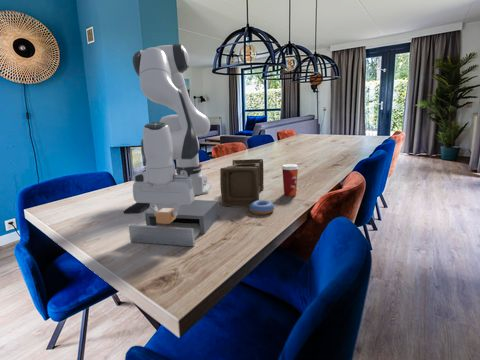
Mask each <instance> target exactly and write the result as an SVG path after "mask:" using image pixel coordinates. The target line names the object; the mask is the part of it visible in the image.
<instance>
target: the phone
mask: <svg viewBox="0 0 480 360" xmlns="http://www.w3.org/2000/svg"><path fill="white" fill-rule="evenodd" d="M149 206H150V203H137V202H135V203H134V204H131V205H130V206H129V207H128V208H125V209H124V210H123V212H122V213H123V214H128V215H129V214H130V215H132V214H133V215H135V214H136V215H137V214H138V215H139V214H141V213H144V211H146V210H147V209H148V208H149Z"/></svg>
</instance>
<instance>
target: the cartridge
mask: <svg viewBox="0 0 480 360" xmlns="http://www.w3.org/2000/svg"><path fill="white" fill-rule="evenodd" d="M173 210H174V208H161V209H160V210H159V211H157V212H156V213H155V215H156V223H163V224H170V223H171V222H174V220H176V219H177V218H176V217H171V211H173Z"/></svg>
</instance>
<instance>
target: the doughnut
mask: <svg viewBox="0 0 480 360" xmlns="http://www.w3.org/2000/svg"><path fill="white" fill-rule="evenodd" d="M248 208H249V211H250V213H252V214H253V215H257V216H265V215H270V214H272V213H273V211H274V210H275V205H274V203H273V202H272V201H270V200H266V199H259V200H257V201H254V202H252V203H251V204H250V207H248Z"/></svg>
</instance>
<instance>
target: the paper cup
mask: <svg viewBox="0 0 480 360" xmlns="http://www.w3.org/2000/svg"><path fill="white" fill-rule="evenodd" d="M281 169H282V182H283V185H282V186H283V194H284V196H285V197H286V196H287V197H294V196H296V195H297V186H298V170H299V167H298V164H295V163H286V164H283V165H282V167H281Z"/></svg>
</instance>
